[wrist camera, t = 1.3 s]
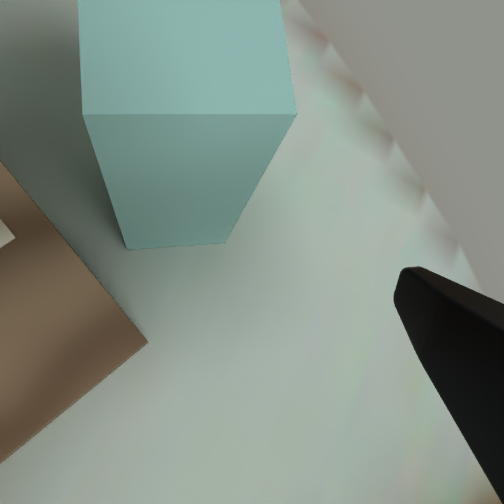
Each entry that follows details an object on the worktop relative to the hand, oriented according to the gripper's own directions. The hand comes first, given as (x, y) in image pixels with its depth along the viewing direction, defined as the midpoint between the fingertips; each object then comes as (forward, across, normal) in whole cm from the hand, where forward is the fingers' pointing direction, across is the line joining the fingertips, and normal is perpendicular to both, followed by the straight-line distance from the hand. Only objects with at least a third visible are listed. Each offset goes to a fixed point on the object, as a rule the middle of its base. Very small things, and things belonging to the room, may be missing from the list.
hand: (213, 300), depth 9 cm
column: (+14, 0, +4) cm, 15 cm away
